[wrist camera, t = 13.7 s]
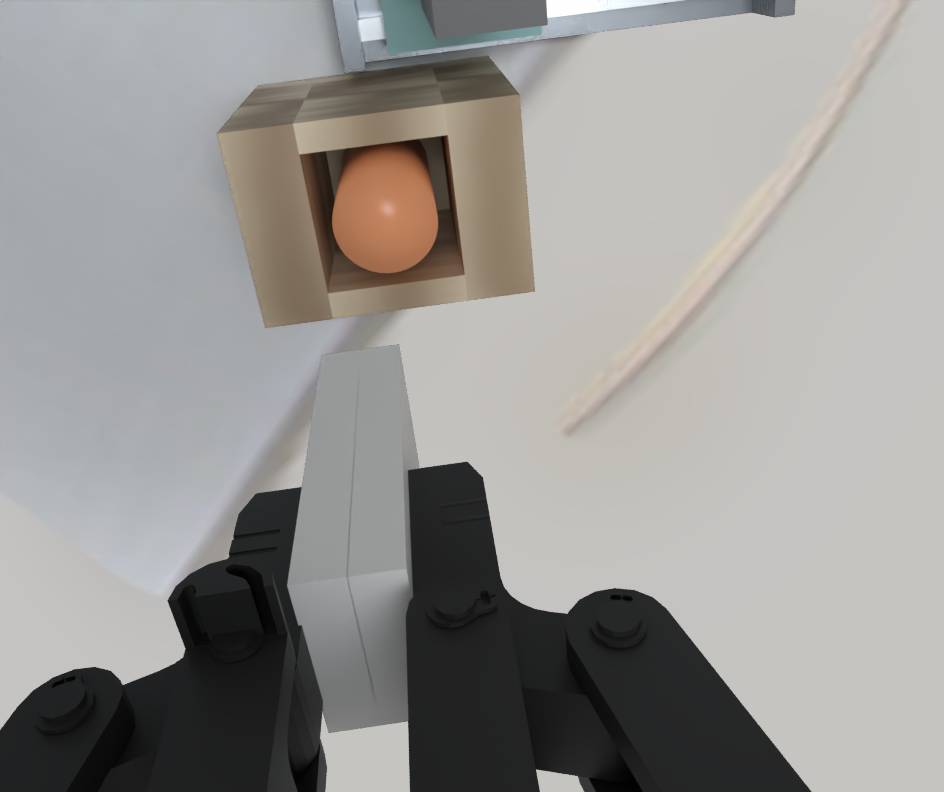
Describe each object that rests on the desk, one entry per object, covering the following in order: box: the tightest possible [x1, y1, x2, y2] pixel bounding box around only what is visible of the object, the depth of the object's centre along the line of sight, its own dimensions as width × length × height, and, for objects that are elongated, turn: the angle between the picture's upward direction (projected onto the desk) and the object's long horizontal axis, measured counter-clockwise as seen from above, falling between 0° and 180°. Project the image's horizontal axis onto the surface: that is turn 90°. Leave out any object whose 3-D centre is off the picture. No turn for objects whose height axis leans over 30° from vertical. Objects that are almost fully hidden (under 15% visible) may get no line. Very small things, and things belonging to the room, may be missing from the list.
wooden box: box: [217, 56, 535, 328], centre depth 34 cm, size 10×7×10 cm
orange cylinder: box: [332, 139, 438, 273], centre depth 33 cm, size 4×4×8 cm
